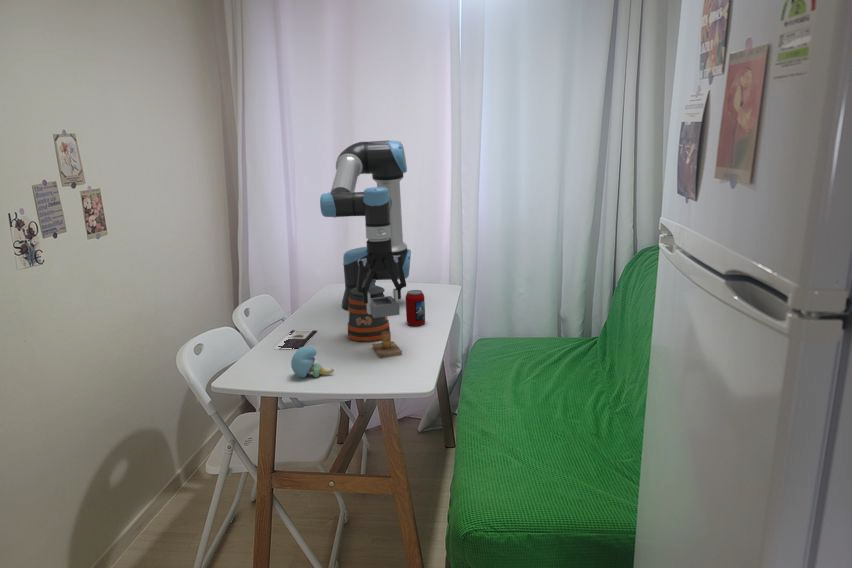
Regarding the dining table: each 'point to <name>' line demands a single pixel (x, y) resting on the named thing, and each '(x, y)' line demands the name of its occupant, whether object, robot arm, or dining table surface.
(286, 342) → the chocolate bar
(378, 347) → the keeper
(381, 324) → the beer stein
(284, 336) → the dining table surface
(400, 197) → the robot arm
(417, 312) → the beverage can
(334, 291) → the dining table surface
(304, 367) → the blue haired figurine
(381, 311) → the grey rectangular frame
